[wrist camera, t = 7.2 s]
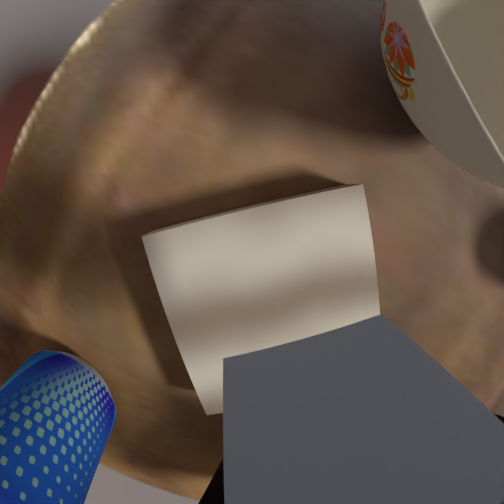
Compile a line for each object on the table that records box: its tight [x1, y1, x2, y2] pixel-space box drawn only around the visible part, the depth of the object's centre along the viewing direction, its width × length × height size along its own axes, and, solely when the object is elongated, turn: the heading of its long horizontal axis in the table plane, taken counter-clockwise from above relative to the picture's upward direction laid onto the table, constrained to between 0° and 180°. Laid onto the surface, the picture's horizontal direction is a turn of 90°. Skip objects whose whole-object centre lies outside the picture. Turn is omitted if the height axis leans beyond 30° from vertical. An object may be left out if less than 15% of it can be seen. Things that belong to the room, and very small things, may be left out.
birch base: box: [142, 184, 380, 415], centre depth 17 cm, size 12×12×2 cm
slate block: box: [223, 314, 504, 504], centre depth 6 cm, size 5×5×7 cm
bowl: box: [380, 0, 504, 188], centre depth 12 cm, size 16×16×10 cm
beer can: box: [0, 350, 116, 504], centre depth 11 cm, size 8×8×16 cm
